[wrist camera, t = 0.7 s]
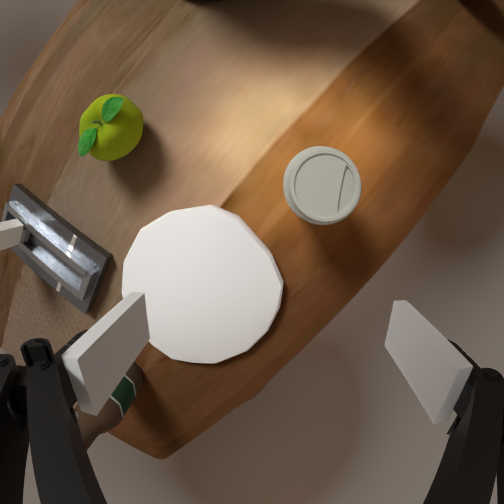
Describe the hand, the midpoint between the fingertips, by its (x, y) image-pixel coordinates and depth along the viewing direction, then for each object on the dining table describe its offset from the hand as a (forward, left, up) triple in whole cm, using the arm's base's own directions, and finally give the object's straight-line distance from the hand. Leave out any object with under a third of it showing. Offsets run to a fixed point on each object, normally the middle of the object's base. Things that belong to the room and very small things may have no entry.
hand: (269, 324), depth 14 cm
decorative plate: (+8, -11, -29) cm, 32 cm away
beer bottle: (+25, -27, -28) cm, 47 cm away
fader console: (0, -39, -28) cm, 48 cm away
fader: (-3, -44, -26) cm, 51 cm away
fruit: (-17, -21, -28) cm, 39 cm away
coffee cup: (-7, +6, -28) cm, 30 cm away
